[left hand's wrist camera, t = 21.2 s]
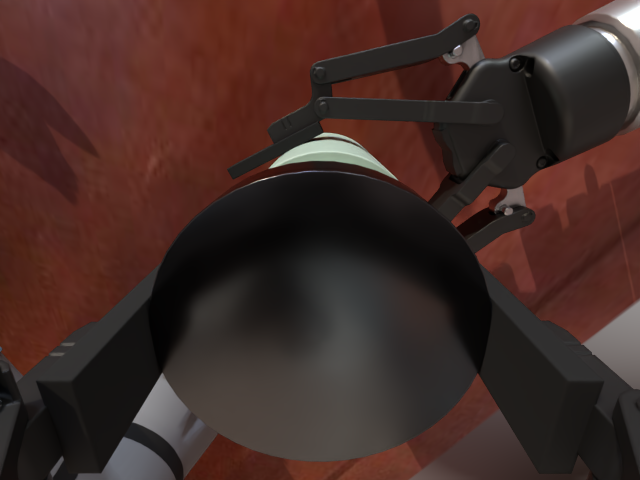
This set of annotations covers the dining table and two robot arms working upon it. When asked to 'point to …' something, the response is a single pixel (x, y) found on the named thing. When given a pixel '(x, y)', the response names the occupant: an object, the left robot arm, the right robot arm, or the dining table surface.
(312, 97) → the right robot arm
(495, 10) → the dining table surface
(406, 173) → the dining table surface
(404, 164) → the dining table surface
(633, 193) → the dining table surface
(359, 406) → the lid
